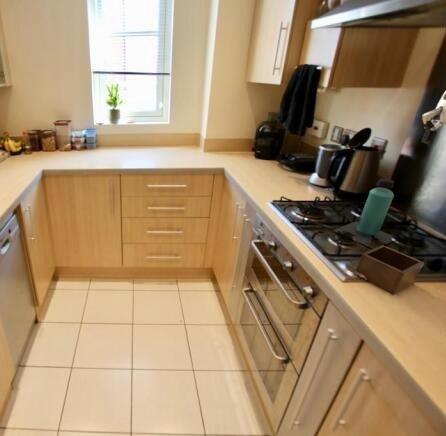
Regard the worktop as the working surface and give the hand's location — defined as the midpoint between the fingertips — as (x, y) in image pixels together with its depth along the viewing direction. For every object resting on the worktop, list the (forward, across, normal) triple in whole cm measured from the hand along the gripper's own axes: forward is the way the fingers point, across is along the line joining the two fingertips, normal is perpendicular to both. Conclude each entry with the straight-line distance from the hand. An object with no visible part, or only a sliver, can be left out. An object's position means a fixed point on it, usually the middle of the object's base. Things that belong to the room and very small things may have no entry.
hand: (443, 143), depth 94 cm
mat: (+32, -12, 0) cm, 34 cm away
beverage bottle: (+32, -12, 0) cm, 34 cm away
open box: (+32, -21, -24) cm, 45 cm away
